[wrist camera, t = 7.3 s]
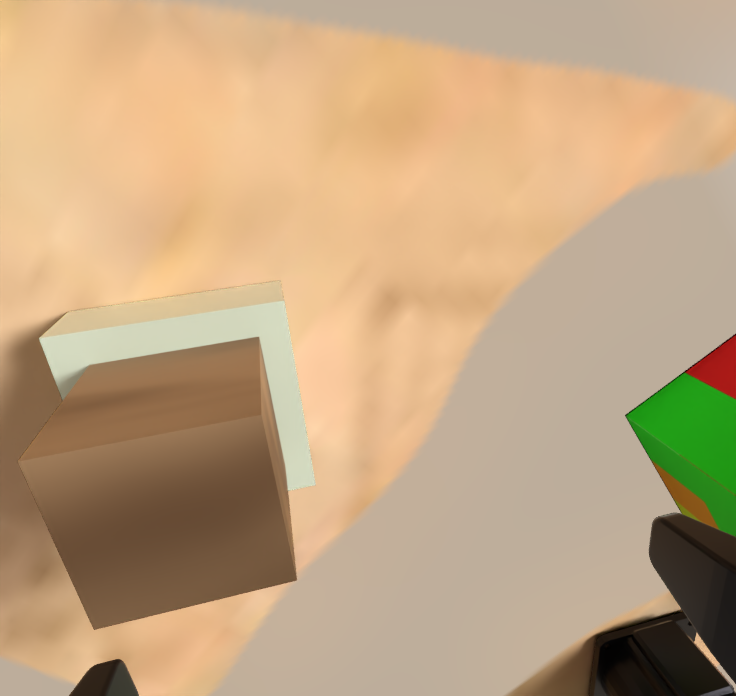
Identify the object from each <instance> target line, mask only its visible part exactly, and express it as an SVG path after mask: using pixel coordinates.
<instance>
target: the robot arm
mask: <svg viewBox="0 0 736 696" xmlns="http://www.w3.org/2000/svg"><path fill="white" fill-rule="evenodd" d="M649 546H650V547H649V557H650V560H651V563H652V565H653V567H654V568H655V570H656V571H657V573H658V574H659V576H660V577H661V579H662V580H663V582H664V583H665V585H666V586H667V588H668V589H669V591H670V592H671V594H672V595H673V597H674V598H675V600H676V601H677V603H678V604H679V606H680V607H681V609H682V610H683V612H682V613H678V614H675V615H671V616H668V617H664V618H661V619H657V620H654V621H650V622H647V623H643V624H640V625H636V626H632V627H629V628H625V629H622V630H618V631H615V632H611V633H608V634H604V635H602V636H600V637H599V638H598V639H597V640H596V642H595V650H594V658H593V667H592V675H591V684H590V692H589V696H736V692H735V691H734V688H733V686H732V685H731V684H730V682H729V681H728V680H727V679H726V678H725V677H724V676H723V675H722V673H721V672H720V671H719V670H718V669H717V668H716V667H715V666H714V664H713V663H712V662H711V661H710V660H709V659H708V658H707V656H706V655H705V654H704V653H703V652H702V651H701V650H700V649H699V647H698V646H697V645H696V644H695V643H694V641H695V636H696V632H697V633H698V635H699V636H700V637H701V639H702V640H703V642H704V643H705V645H706V646H707V647H708V649H709V650H710V652H711V653H712V654H713V656H714V657H715V658H716V660H717V661H718V662H719V663H720V665H721V666H722V667H723V669H724V670H725V671H726V672H727V674H728V675H729V676H730V677H731V679H732V680H733V681H734V682H735V684H736V537H735V536H733V535H731V534H728V533H726V532H724V531H721V530H719V529H716V528H714V527H712V526H709V525H707V524H705V523H702V522H700V521H697V520H695V519H693V518H690V517H688V516H686V515H683V514H680V513H670V514H667V515H663V516H659V517H656V518H655V519H654V521H653V523H652V530H651V537H650V545H649ZM69 696H139V694H138V691H137V689H136V687H135V685H134V682H133V680H132V678H131V676H130V674H129V672H128V669H127V667H126V665H125V663H124V662H123V661H122V660H120V659H116V660H112V661H108V662H104V663H100V664H97V665H94V666H93V667H91V668H90V669H89V670H88V671H87V672H86V674H85V675H84V676H83V678H82V679H81V680H80V682H79V683H78V684H77V686H76V687H75V688H74V690H73V691H72V692H71V694H70V695H69Z"/></svg>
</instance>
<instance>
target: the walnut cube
mask: <svg viewBox="0 0 736 696" xmlns="http://www.w3.org/2000/svg"><path fill="white" fill-rule="evenodd" d="M18 464H19V466H20V468H21V471H22V473H23V475H24V477H25V479H26V482H27V484H28V486H29V488H30V490H31V493H32V495H33V497H34V499H35V501H36V504H37V506H38V508H39V510H40V512H41V514H42V517H43V519H44V521H45V523H46V525H47V528H48V530H49V532H50V534H51V536H52V539H53V541H54V543H55V545H56V547H57V550H58V552H59V554H60V556H61V558H62V561H63V563H64V565H65V567H66V569H67V572H68V574H69V576H70V578H71V580H72V583H73V585H74V587H75V589H76V591H77V594H78V596H79V598H80V600H81V602H82V605H83V607H84V609H85V611H86V613H87V616H88V618H89V620H90V622H91V624H92V627H93V629H94V630H95V629H99V628H103V627H108V626H112V625H116V624H120V623H124V622H128V621H132V620H136V619H140V618H144V617H149V616H153V615H157V614H161V613H165V612H169V611H173V610H177V609H181V608H185V607H190V606H194V605H198V604H202V603H206V602H210V601H214V600H218V599H222V598H226V597H230V596H235V595H239V594H243V593H247V592H251V591H255V590H259V589H263V588H267V587H271V586H276V585H280V584H284V583H288V582H292V581H296V580H297V577H296V567H295V557H294V547H293V537H292V527H291V517H290V507H289V497H288V486H287V476H286V467H285V462H284V457H283V452H282V447H281V442H280V437H279V432H278V427H277V423H276V418H275V413H274V408H273V403H272V398H271V393H270V388H269V383H268V378H267V373H266V368H265V363H264V358H263V353H262V348H261V343H260V338H259V337H253V338H247V339H241V340H235V341H229V342H223V343H217V344H211V345H205V346H199V347H193V348H187V349H181V350H175V351H169V352H163V353H158V354H152V355H146V356H140V357H134V358H128V359H122V360H116V361H110V362H104V363H98V364H92V365H89V366H88V367H87V369H86V370H85V371H84V373H83V374H82V376H81V377H80V378H79V380H78V381H77V382H76V384H75V385H74V386H73V388H72V389H71V390H70V392H69V393H68V394H67V396H66V397H65V398H64V400H63V401H62V402H61V404H60V405H59V406H58V408H57V409H56V410H55V412H54V413H53V414H52V416H51V417H50V419H49V420H48V421H47V423H46V424H45V425H44V427H43V428H42V429H41V431H40V432H39V433H38V435H37V436H36V437H35V439H34V440H33V441H32V443H31V444H30V445H29V447H28V448H27V449H26V451H25V452H24V453H23V455H22V456H21V457H20V459H19V460H18Z"/></svg>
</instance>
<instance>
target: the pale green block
mask: <svg viewBox="0 0 736 696" xmlns="http://www.w3.org/2000/svg"><path fill="white" fill-rule="evenodd" d="M253 337H259V338H260V343H261V348H262V353H263V358H264V363H265V368H266V373H267V378H268V383H269V388H270V393H271V398H272V403H273V408H274V413H275V418H276V423H277V427H278V432H279V437H280V442H281V447H282V452H283V457H284V462H285V467H286V476H287V486H288V491H290V490H295V489H299V488H304V487H309V486H313V485H316V484H315V478H314V472H313V466H312V460H311V455H310V449H309V443H308V437H307V431H306V425H305V419H304V413H303V407H302V402H301V396H300V390H299V384H298V378H297V372H296V366H295V360H294V355H293V349H292V343H291V337H290V331H289V325H288V319H287V313H286V307H285V302H284V296H283V291H282V286H281V281H273V282H266V283H260V284H253V285H246V286H239V287H232V288H226V289H219V290H212V291H205V292H199V293H192V294H185V295H178V296H172V297H165V298H158V299H151V300H145V301H138V302H131V303H124V304H118V305H111V306H104V307H97V308H90V309H84V310H77V311H70V312H67V313H66V314H65V315H64V316H63V317H62V318H61V319H60V320H58V321H57V322H56V323H55V324H54V325H53V326H52V327H51V328H50V329H49V330H47V331H46V332H45V333H44V334H43V335H42V336H41V337H40V338H39V340H40V343H41V345H42V348H43V351H44V353H45V356H46V358H47V361H48V364H49V366H50V369H51V372H52V374H53V377H54V379H55V382H56V385H57V387H58V390H59V392H60V395H61V398H62V400H64V398H65V397H66V396H67V394H68V393H69V392H70V390H71V389H72V388H73V386H74V385H75V384H76V382H77V381H78V380H79V378H80V377H81V376H82V374H83V373H84V371H85V370H86V369H87V367H88V366H89V365H92V364H98V363H104V362H110V361H116V360H122V359H128V358H134V357H140V356H146V355H152V354H158V353H163V352H169V351H175V350H181V349H187V348H193V347H199V346H205V345H211V344H217V343H223V342H229V341H235V340H241V339H247V338H253Z"/></svg>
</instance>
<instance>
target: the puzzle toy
mask: <svg viewBox="0 0 736 696" xmlns="http://www.w3.org/2000/svg"><path fill="white" fill-rule="evenodd" d="M625 417H626V418H627V420H628V422H629V424H630V425H631V427H632V429H633V431H634V432H635V434H636V436H637V437H638V439H639V441H640V443H641V444H642V446H643V448H644V449H645V451H646V453H647V455H648V456H649V458H650V460H651V461H652V463H653V465H654V467H655V469H656V470H657V472H658V474H659V475H660V477H661V479H662V481H663V482H664V484H665V486H666V487H667V489H668V491H669V493H670V494H671V496H672V498H673V500H674V501H675V503H676V505H677V507H678V508H679V510H680V512H681V513H682V514H683V515H686V516H688V517H690V518H693V519H695V520H697V521H700V522H702V523H705V524H707V525H709V526H712V527H714V528H716V529H719V530H721V531H724V532H726V533H728V534H731V535H733V536H735V537H736V334H734V335H733V336H732V337H730V338H729V339H727V340H726V341H725V342H723V343H722V344H721V345H719V346H718V347H717V348H715V349H714V350H713V351H711V352H710V353H709V354H707V355H706V356H705V357H703V358H702V359H700V360H699V361H698V362H697V363H695V364H694V365H692V366H691V367H690V368H688V369H687V370H685V371H684V372H683V373H682V374H680V375H679V376H677V377H676V378H675V379H673V380H672V381H671V382H669V383H668V384H667V385H665V386H664V387H662V389H660V390H658V391H657V392H656V393H654V394H653V395H652V396H650V397H649V398H648V399H646V400H645V401H644V402H642V403H641V404H639V405H638V406H637V407H636V408H634V409H633V410H631V411H630V412H629V413H627V414H626V415H625Z"/></svg>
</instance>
